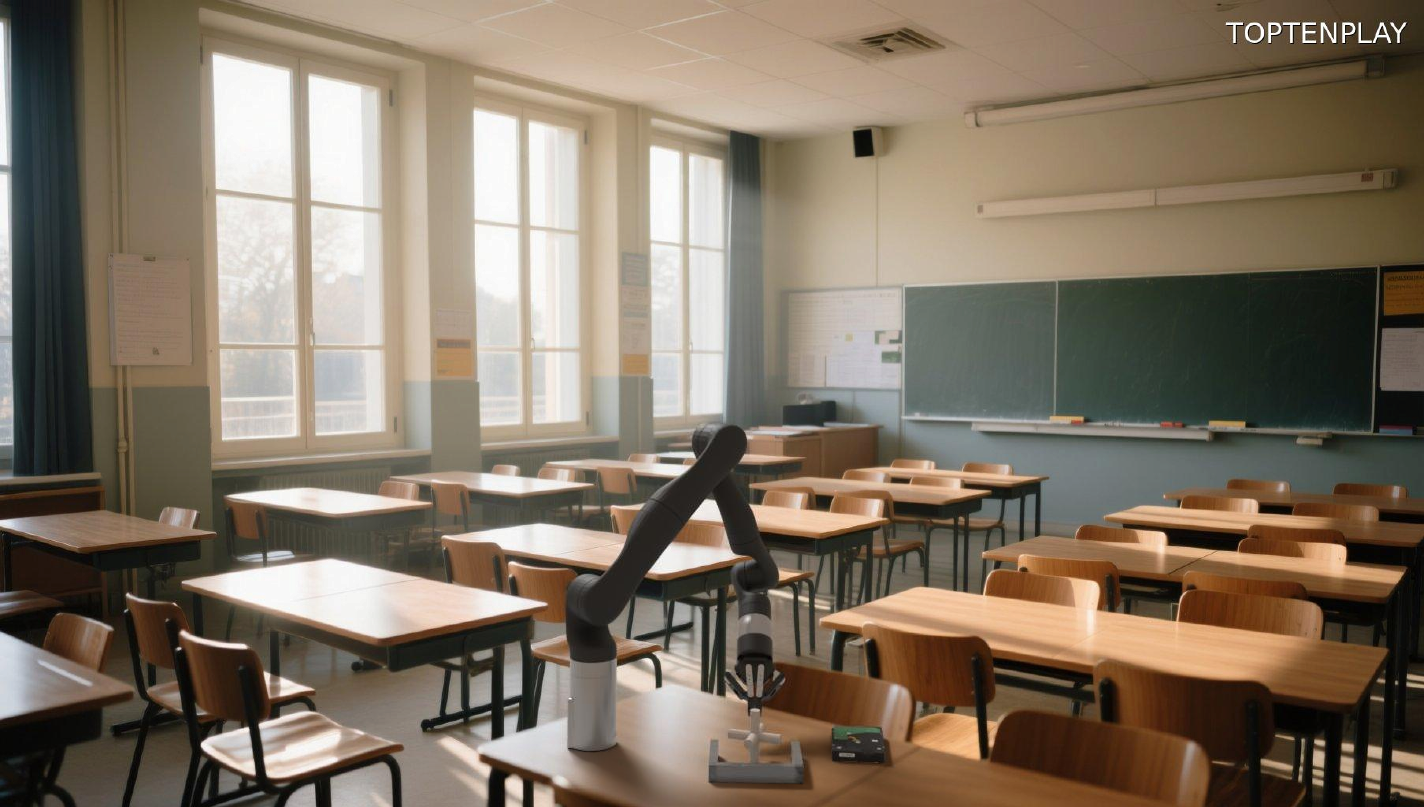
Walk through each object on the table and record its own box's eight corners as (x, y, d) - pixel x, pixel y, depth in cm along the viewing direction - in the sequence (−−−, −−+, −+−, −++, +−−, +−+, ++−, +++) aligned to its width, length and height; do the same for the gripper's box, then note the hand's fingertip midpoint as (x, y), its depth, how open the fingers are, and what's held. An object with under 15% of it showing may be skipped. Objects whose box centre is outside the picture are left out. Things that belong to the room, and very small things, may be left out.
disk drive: (886, 767, 191) (881, 739, 206) (886, 752, 191) (881, 726, 206) (831, 764, 192) (830, 737, 207) (831, 750, 192) (830, 723, 207)
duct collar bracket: (708, 781, 181) (708, 765, 181) (710, 755, 195) (710, 739, 195) (803, 783, 181) (803, 767, 181) (798, 756, 194) (799, 741, 194)
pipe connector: (785, 757, 194) (786, 705, 194) (774, 775, 185) (775, 721, 185) (735, 750, 197) (736, 699, 197) (721, 769, 188) (722, 715, 187)
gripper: (723, 630, 210) (721, 708, 198) (786, 631, 209) (788, 709, 197) (723, 649, 215) (721, 726, 203) (785, 650, 215) (787, 727, 203)
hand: (754, 717), depth 200 cm, fingers closed
